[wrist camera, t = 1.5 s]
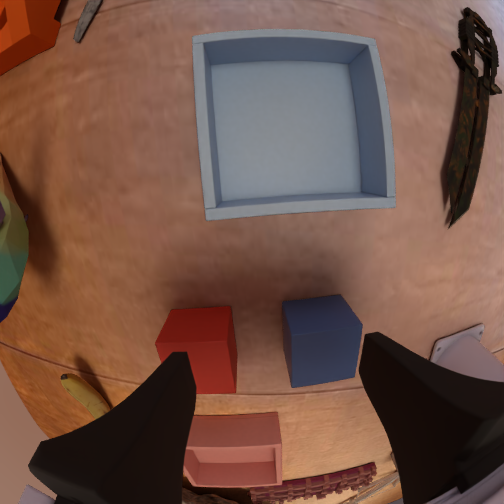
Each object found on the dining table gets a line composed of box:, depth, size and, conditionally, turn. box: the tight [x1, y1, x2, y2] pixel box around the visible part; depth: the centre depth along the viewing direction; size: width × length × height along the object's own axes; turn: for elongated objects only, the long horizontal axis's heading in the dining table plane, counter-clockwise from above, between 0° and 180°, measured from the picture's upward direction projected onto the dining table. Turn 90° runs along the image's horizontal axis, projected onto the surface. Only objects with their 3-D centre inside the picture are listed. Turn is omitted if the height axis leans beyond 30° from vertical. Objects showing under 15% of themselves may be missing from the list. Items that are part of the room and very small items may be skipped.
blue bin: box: [192, 29, 396, 221], centre depth 14 cm, size 10×10×4 cm
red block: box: [155, 306, 237, 394], centre depth 17 cm, size 4×4×4 cm
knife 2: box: [447, 7, 502, 229], centre depth 14 cm, size 25×6×1 cm, turn 155°
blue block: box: [282, 295, 363, 388], centre depth 17 cm, size 4×4×4 cm
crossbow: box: [343, 472, 400, 504], centre depth 31 cm, size 16×13×2 cm
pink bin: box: [183, 412, 282, 488], centre depth 22 cm, size 10×10×4 cm
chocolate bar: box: [248, 463, 377, 504], centre depth 27 cm, size 7×19×2 cm, turn 95°
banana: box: [61, 373, 110, 419], centre depth 20 cm, size 10×2×4 cm, turn 3°
